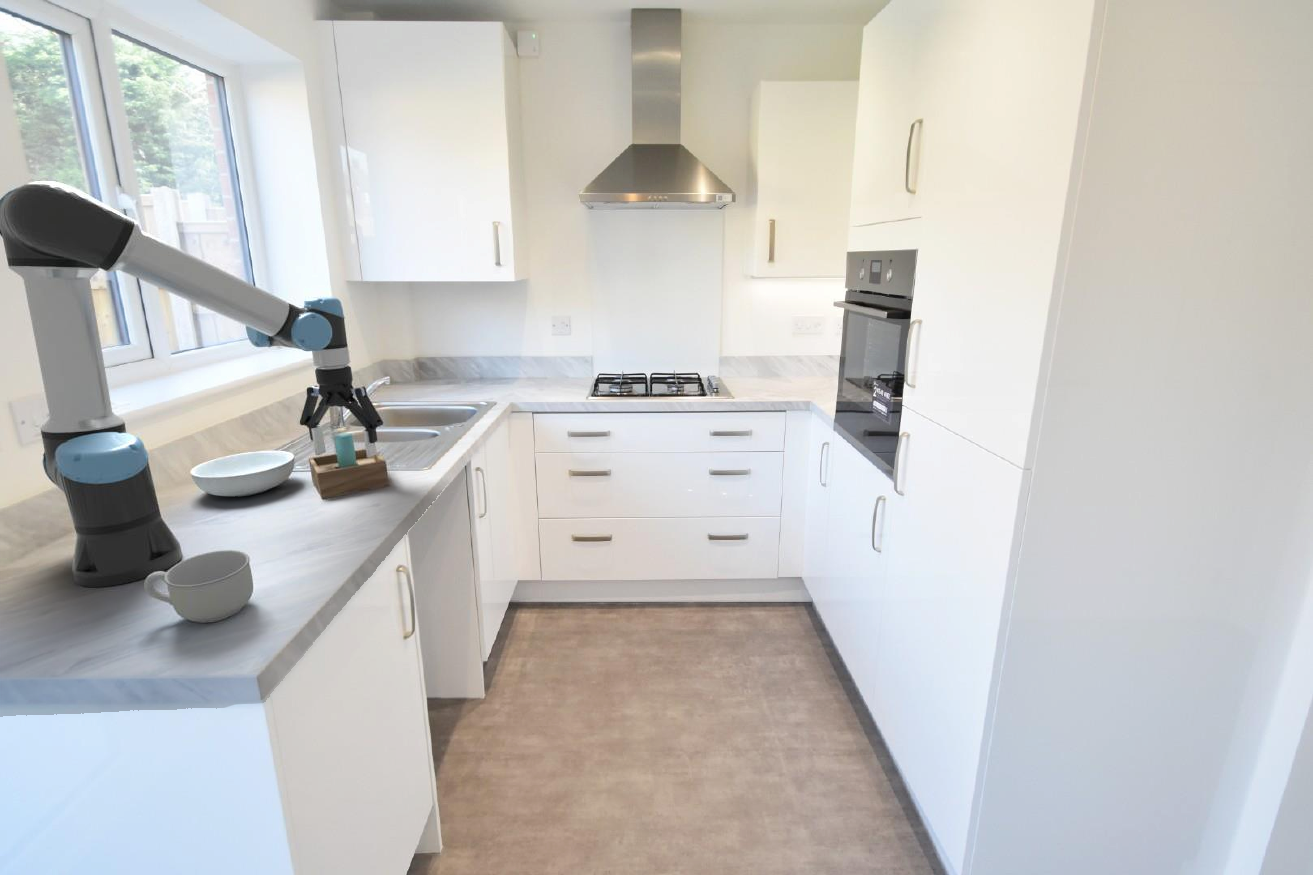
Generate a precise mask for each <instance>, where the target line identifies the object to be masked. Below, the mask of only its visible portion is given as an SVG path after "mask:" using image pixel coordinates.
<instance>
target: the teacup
mask: <svg viewBox="0 0 1313 875" xmlns="http://www.w3.org/2000/svg"><path fill="white" fill-rule="evenodd" d="M250 561H251V560H250V556H249V555H248V554H247V553H246V552H243V551H240V550H233V549H223V550H222V549H221V550H214V551H209V552H204V553H201V554H197V555H194V556H191V557H188V558H186V559H184V560H182V561H180V562H177V563H176V564H174V565H173V566H171V567H170V569H167V571H165V570H164V571H157V572H154V573H152V574H150V575H149V576H148V577H146V578H145V580H144V583H143V587H144V591H145V592H146V593H147V594H148V595H149V596H150V597H152V598H154V599H156V600H159V601H161V602H165V603H168V604H170V605H171V606H172V607H173V610H174V611H175V613H176V614H177V615H178V616H179V617H180V618H182V619H184V620H188V621H192V622H195V623H202V624H203V623H204V624H205V623H206V622H207V623H213V621H214V622H217V621H221V620H224V619H227V618H229V616H230V617H231V616H233V615H236V613H238V612H239V611H241V610H242V608H244V606H245V605H246V604H247V603H248V602H249V601H250V599H251V598H252V595H253V593H254V582H253V580H254V579H253V573H252V569H251V568H252V567H251V565H250ZM155 580H161V581H163V582H164V583H165V584H166V587H167V590H168V591H167V592H168V593H167V592H164V591H162V590H160V589H158V588H157V587H156V586H155V584H154V581H155ZM207 623H206V624H207Z"/></svg>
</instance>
